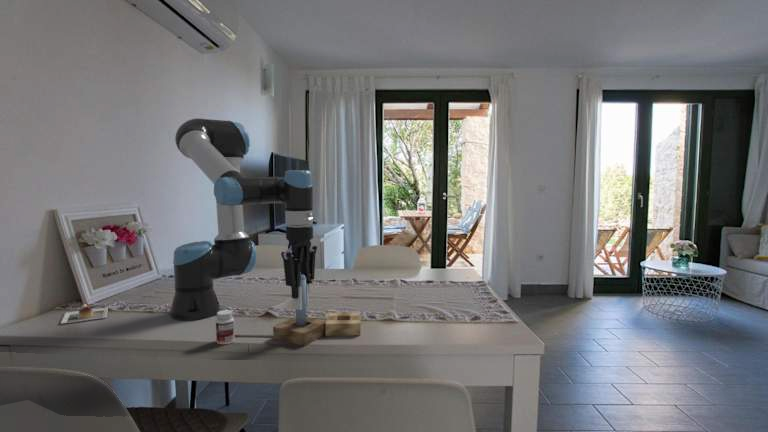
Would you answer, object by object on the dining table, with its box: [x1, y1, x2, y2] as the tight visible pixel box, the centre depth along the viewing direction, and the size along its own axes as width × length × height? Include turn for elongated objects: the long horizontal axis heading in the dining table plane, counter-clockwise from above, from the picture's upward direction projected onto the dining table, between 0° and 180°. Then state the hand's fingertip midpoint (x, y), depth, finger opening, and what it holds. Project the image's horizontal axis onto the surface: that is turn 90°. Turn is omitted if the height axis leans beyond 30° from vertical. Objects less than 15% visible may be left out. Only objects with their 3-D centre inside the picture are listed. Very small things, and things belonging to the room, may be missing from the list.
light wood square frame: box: [325, 311, 362, 337], centre depth 129 cm, size 10×10×4 cm
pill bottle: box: [215, 309, 236, 345], centre depth 119 cm, size 5×5×8 cm
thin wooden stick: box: [235, 333, 273, 338], centre depth 123 cm, size 16×1×1 cm, turn 88°
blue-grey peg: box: [295, 273, 307, 328], centre depth 123 cm, size 3×3×16 cm
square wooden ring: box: [272, 316, 326, 347], centre depth 123 cm, size 11×11×4 cm
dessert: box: [60, 303, 109, 325], centre depth 140 cm, size 12×12×5 cm
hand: (300, 307), depth 123 cm, fingers closed on blue-grey peg, 2 cm apart
